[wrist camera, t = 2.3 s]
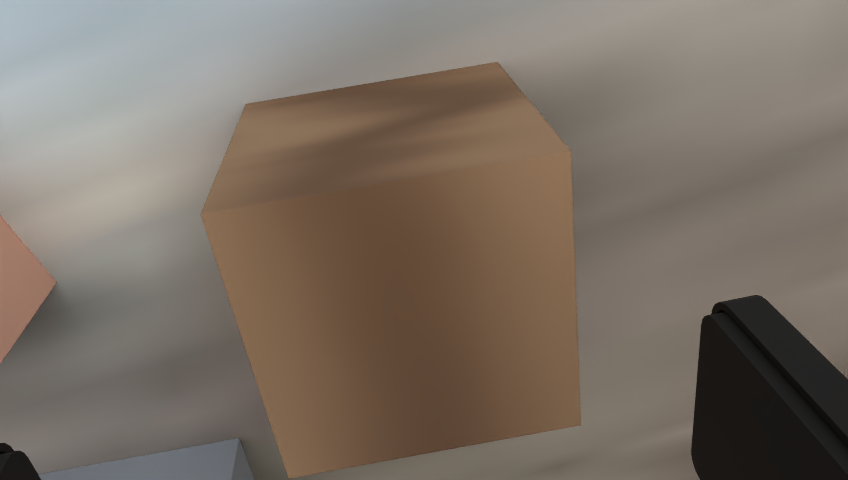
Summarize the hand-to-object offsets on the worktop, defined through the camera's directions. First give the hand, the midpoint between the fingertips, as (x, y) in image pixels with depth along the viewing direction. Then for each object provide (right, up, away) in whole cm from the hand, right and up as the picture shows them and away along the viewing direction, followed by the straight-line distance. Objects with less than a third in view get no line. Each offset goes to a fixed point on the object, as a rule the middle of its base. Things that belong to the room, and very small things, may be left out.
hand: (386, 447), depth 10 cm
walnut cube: (0, +4, +8) cm, 9 cm away
